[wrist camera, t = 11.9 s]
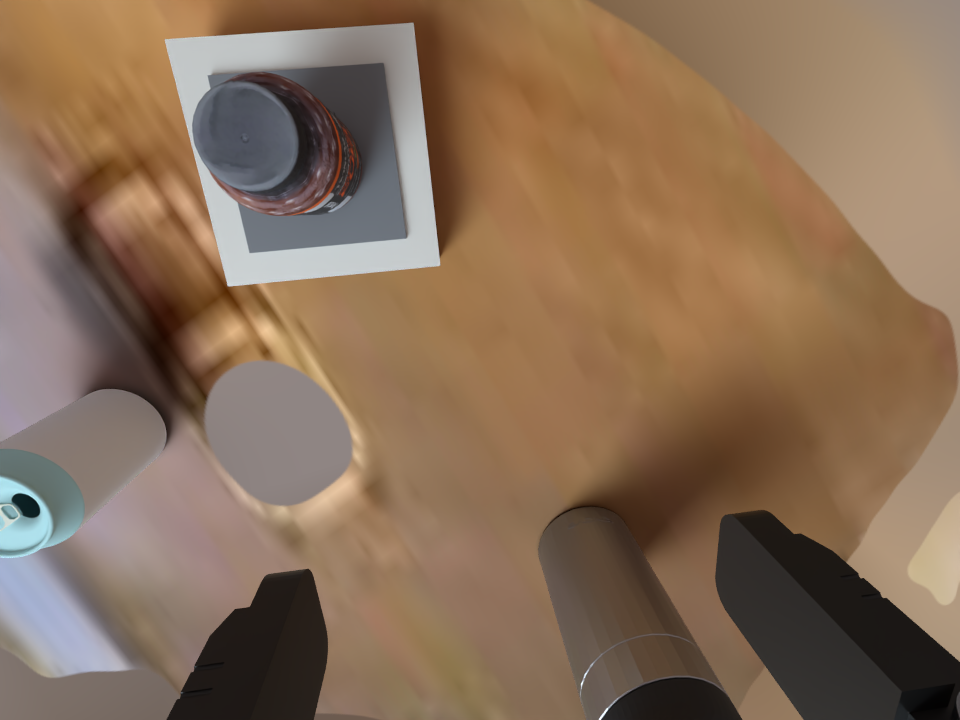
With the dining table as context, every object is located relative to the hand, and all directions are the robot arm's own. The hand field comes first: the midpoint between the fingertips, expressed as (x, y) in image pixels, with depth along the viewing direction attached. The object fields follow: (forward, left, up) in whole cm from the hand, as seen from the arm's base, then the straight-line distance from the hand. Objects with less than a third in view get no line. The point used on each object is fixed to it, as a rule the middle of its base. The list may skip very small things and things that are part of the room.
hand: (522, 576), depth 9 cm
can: (-8, +28, -30) cm, 42 cm away
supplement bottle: (+10, +8, -25) cm, 28 cm away
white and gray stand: (+10, +8, -30) cm, 33 cm away
